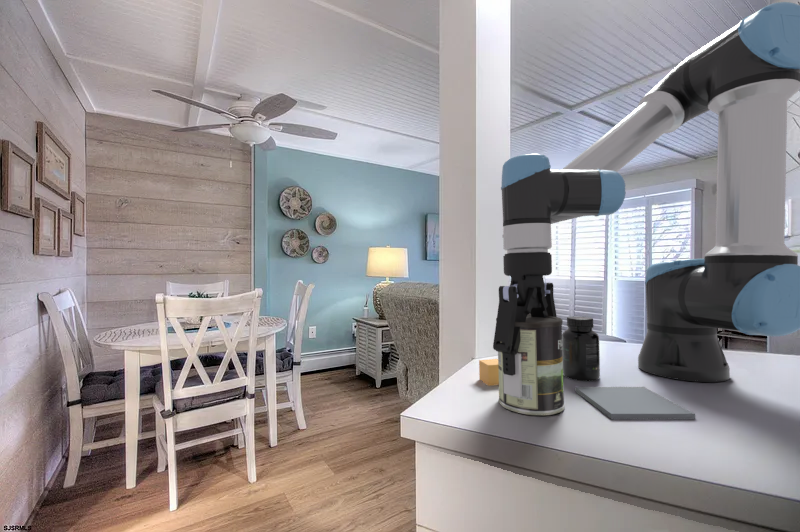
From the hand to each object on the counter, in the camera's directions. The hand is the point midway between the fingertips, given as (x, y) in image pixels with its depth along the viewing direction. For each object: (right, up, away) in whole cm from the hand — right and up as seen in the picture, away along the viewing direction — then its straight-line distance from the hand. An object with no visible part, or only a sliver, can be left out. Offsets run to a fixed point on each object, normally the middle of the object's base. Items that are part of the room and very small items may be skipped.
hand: (529, 386), depth 60 cm
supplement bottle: (+16, -3, +14) cm, 21 cm away
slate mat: (+16, -3, -1) cm, 16 cm away
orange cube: (-3, -3, +12) cm, 13 cm away
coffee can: (0, -3, 0) cm, 3 cm away
